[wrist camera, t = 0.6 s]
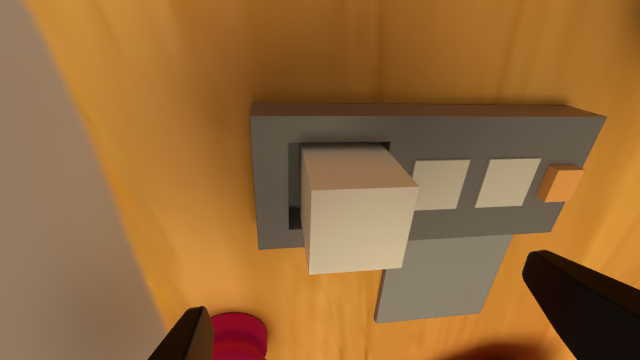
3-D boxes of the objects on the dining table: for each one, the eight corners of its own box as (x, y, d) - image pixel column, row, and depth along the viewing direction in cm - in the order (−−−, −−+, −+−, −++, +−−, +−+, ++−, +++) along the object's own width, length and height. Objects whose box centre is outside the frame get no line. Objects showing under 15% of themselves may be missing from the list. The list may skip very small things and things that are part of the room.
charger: (374, 135, 20) (419, 186, 14) (365, 200, 22) (401, 269, 16) (299, 136, 19) (311, 190, 13) (298, 203, 22) (308, 276, 15)
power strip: (560, 103, 22) (620, 120, 18) (517, 207, 26) (559, 238, 22) (253, 100, 19) (248, 120, 15) (260, 219, 23) (258, 258, 19)
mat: (512, 221, 26) (517, 225, 25) (476, 308, 31) (479, 313, 31) (391, 227, 24) (393, 231, 24) (374, 318, 29) (375, 323, 29)
